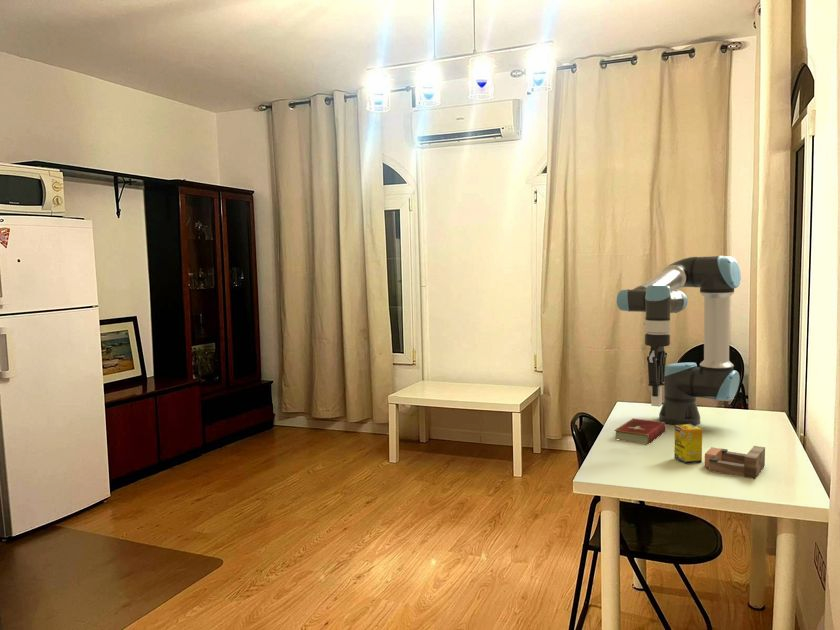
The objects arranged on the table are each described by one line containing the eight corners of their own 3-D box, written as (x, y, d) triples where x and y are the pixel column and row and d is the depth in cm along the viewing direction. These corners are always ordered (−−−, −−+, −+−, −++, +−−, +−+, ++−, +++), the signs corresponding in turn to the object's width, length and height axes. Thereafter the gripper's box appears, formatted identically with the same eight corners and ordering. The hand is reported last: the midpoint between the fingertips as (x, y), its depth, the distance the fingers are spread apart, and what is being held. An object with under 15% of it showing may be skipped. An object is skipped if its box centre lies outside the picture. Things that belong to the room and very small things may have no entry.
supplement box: (673, 458, 204) (674, 425, 203) (690, 457, 205) (691, 423, 204) (685, 464, 198) (685, 429, 197) (702, 462, 199) (702, 428, 199)
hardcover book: (665, 432, 237) (665, 421, 236) (648, 446, 220) (648, 434, 220) (633, 428, 244) (633, 417, 243) (614, 441, 227) (614, 429, 227)
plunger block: (711, 459, 201) (711, 447, 201) (721, 461, 199) (722, 448, 199) (704, 466, 195) (704, 453, 194) (715, 468, 193) (715, 455, 193)
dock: (720, 459, 202) (720, 440, 202) (764, 466, 195) (765, 447, 194) (709, 470, 191) (709, 451, 191) (755, 479, 184) (755, 458, 183)
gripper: (652, 330, 212) (651, 400, 214) (638, 334, 202) (637, 408, 204) (675, 331, 208) (674, 403, 210) (662, 335, 197) (661, 411, 199)
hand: (656, 405), depth 207 cm, fingers closed
